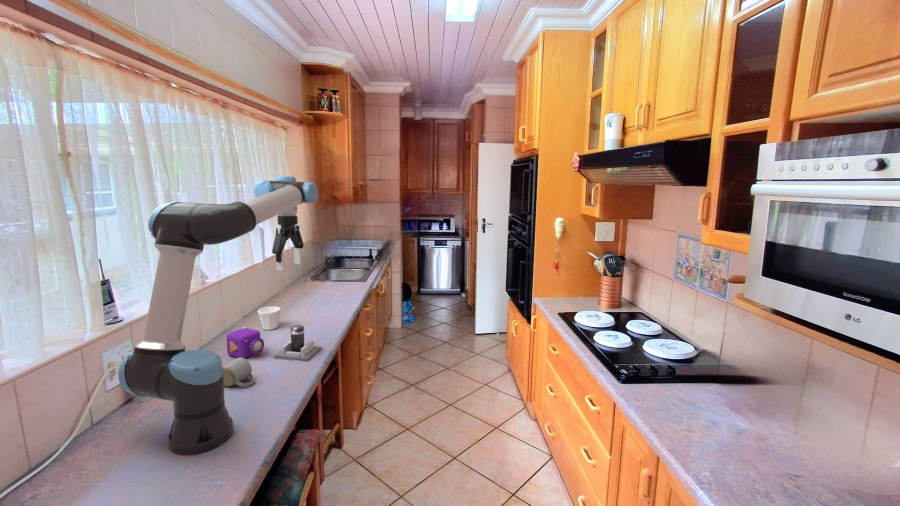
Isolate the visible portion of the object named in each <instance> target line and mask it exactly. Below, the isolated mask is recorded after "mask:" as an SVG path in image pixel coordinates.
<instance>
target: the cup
mask: <svg viewBox="0 0 900 506" xmlns="http://www.w3.org/2000/svg"><path fill="white" fill-rule="evenodd" d="M281 311H282V309H281V307H279V306H265V307H260V308H259V309H258V310H257V314H258V317H259V319H260V320H259V321H260V323H261V325H262V329H263V330H264V331H273V330H276V329H277V328H278V326H279V321H280V316H281Z"/></svg>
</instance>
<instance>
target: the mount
mask: <svg viewBox="0 0 900 506" xmlns="http://www.w3.org/2000/svg"><path fill="white" fill-rule="evenodd" d="M280 349H281V350H279V351H278V352H276V353H275V354H274V355H273V358H274V359H278V360H279V359H281V360H290V361H292V360H293V361H301V362H308V361H310V360H311V359H312V358H313V357H314V356H315V355H316V354H317V353H319V352H320V351H321V349H322V346H319V345H315V340H310V341H308V342H307V343H304V347H302V348H301V352H291V339H290V340H288V342H286V343H285V344H283V345H282V346H281V347H280Z"/></svg>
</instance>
